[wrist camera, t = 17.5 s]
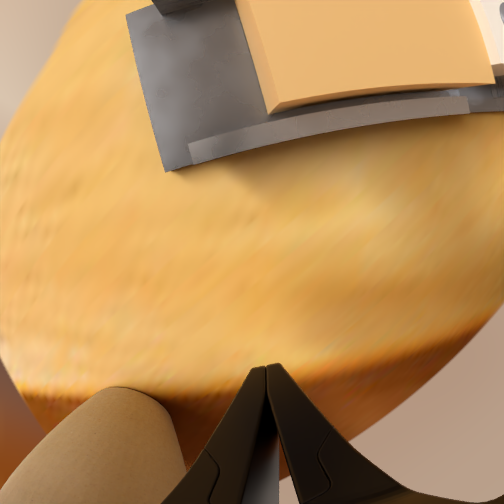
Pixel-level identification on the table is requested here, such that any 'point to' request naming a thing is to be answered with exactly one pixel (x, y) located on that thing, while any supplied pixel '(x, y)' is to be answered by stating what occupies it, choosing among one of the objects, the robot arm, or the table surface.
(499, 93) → the press frame
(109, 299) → the table surface
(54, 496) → the plant pot
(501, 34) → the block
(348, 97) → the block
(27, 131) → the table surface
